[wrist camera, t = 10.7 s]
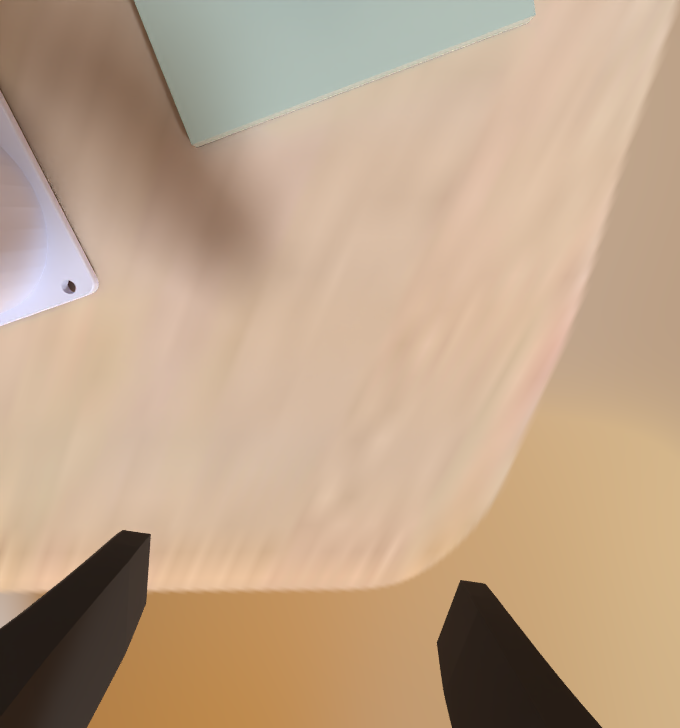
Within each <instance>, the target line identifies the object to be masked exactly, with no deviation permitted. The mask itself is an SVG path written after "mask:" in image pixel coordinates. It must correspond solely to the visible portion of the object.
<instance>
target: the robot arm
mask: <svg viewBox="0 0 680 728" xmlns="http://www.w3.org/2000/svg"><path fill="white" fill-rule="evenodd" d="M69 280H70V281H72V282H73V283H74V284H75V287H76V290H75V292H73V291H71V290H70V289H69V287H68V281H69ZM98 284H99V282H98V279H97V276H96V274H95V273H94V271H93V269H92V267H91V265H90V263H89V261H88V259H87V257H86V255H85V253H84V251H83V249H82V247H81V245H80V243H79V242H78V240H77V238H76V236H75V234H74V232H73V230H72V228H71V226H70V224H69V222H68V220H67V218H66V216H65V214H64V212H63V211H62V209H61V207H60V205H59V203H58V201H57V199H56V197H55V195H54V193H53V191H52V189H51V187H50V185H49V183H48V182H47V180H46V178H45V176H44V174H43V172H42V170H41V168H40V166H39V164H38V162H37V160H36V158H35V156H34V154H33V152H32V151H31V149H30V147H29V145H28V143H27V141H26V139H25V137H24V135H23V133H22V131H21V129H20V127H19V125H18V123H17V122H16V120H15V118H14V116H13V114H12V112H11V110H10V108H9V106H8V104H7V102H6V100H5V98H4V96H3V94H2V92H1V91H0V326H2V325H5V324H8V323H10V322H13V321H16V320H19V319H22V318H25V317H28V316H30V315H33V314H36V313H39V312H42V311H45V310H47V309H50V308H53V307H56V306H59V305H62V304H65V303H67V302H70V301H73V300H76V299H79V298H82V297H84V296H87V295H90V294H93V293H94V292H96V290H97V289H98ZM150 537H151V534H146V533H139V532H132V531H126V530H122V531H121V532H119V533H118V534H116V535H115V536H114V537H113V538H112V539H111V540H109V541H108V542H107V543H106V544H105V545H104V546H102V547H101V548H100V549H99V550H98V551H97V552H95V553H94V554H93V555H92V556H91V557H90V558H88V559H87V560H86V561H85V562H84V563H83V564H81V565H80V566H79V567H78V568H77V569H75V570H74V571H73V572H72V573H71V574H69V575H68V576H67V577H66V578H64V579H63V580H62V581H61V582H60V583H58V584H57V585H56V586H55V587H53V588H52V589H51V590H50V591H48V592H47V593H46V594H45V595H43V596H42V597H41V598H40V599H38V600H37V601H36V602H35V603H33V604H32V605H31V606H30V607H28V608H27V609H26V610H24V611H23V612H22V613H21V614H19V615H18V616H17V617H15V618H14V619H13V620H11V621H10V622H9V623H7V624H6V625H4V626H3V627H2V628H0V728H87V726H88V724H89V722H90V720H91V719H92V717H93V715H94V713H95V711H96V709H97V707H98V705H99V704H100V702H101V700H102V698H103V696H104V694H105V692H106V690H107V688H108V686H109V684H110V683H111V681H112V679H113V677H114V675H115V673H116V671H117V669H118V667H119V665H120V663H121V661H122V659H123V657H124V656H125V653H126V651H127V649H128V646H129V644H130V642H131V639H132V636H133V634H134V632H135V630H136V627H137V625H138V622H139V619H140V617H141V615H142V612H143V610H144V607H145V605H146V597H147V582H148V567H149V552H150ZM437 647H438V655H439V663H440V670H441V677H442V684H443V690H444V696H445V700H446V704H447V709H448V713H449V717H450V721H451V725H452V728H602V727H601V726H600V725H599V724H598V722H597V721H596V720H595V719H594V718H593V717H592V715H591V714H590V713H589V712H588V711H587V710H586V709H585V707H584V706H583V705H582V704H581V703H580V702H579V700H578V699H577V698H576V697H575V696H574V695H573V693H572V692H571V691H570V690H569V689H568V687H567V686H566V685H565V684H564V682H563V681H562V680H561V679H560V678H559V677H558V675H557V674H556V673H555V671H554V670H553V669H552V668H551V667H550V665H549V664H548V663H547V662H546V660H545V659H544V658H543V657H542V655H541V654H540V653H539V652H538V650H537V649H536V648H535V647H534V645H533V644H532V643H531V641H530V640H529V639H528V638H527V636H526V635H525V634H524V632H523V631H522V630H521V629H520V627H519V626H518V625H517V624H516V622H515V621H514V620H513V618H512V617H511V616H510V614H509V613H508V612H507V611H506V609H505V608H504V607H503V605H502V604H501V603H500V602H499V600H498V599H497V598H496V596H495V595H494V594H493V593H492V591H491V590H490V589H489V588H488V587H487V585H486V584H483V583H477V582H470V581H462V580H460V583H459V586H458V588H457V591H456V593H455V596H454V599H453V602H452V604H451V607H450V609H449V612H448V615H447V617H446V620H445V623H444V625H443V628H442V631H441V633H440V636H439V638H438V641H437Z"/></svg>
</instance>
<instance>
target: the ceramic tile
mask: <svg viewBox="0 0 680 728" xmlns="http://www.w3.org/2000/svg"><path fill="white" fill-rule="evenodd" d="M134 2H135V5H136V7H137V10H138V12H139V15H140V17H141V20H142V22H143V25H144V27H145V30H146V32H147V35H148V37H149V40H150V42H151V45H152V47H153V50H154V52H155V55H156V57H157V60H158V62H159V65H160V67H161V70H162V72H163V75H164V77H165V80H166V82H167V85H168V87H169V90H170V92H171V95H172V97H173V100H174V102H175V105H176V107H177V110H178V112H179V115H180V117H181V119H182V122H183V124H184V127H185V129H186V132H187V134H188V137H189V139H190V142H191V144H192V145H193V146H195V147H200V146H202V145H205V144H208V143H210V142H213V141H216V140H218V139H221V138H224V137H226V136H229V135H232V134H234V133H237V132H240V131H242V130H245V129H248V128H250V127H253V126H256V125H258V124H261V123H263V122H266V121H269V120H271V119H274V118H277V117H279V116H282V115H285V114H287V113H290V112H293V111H295V110H298V109H301V108H303V107H306V106H309V105H311V104H314V103H317V102H319V101H322V100H325V99H327V98H330V97H333V96H335V95H338V94H340V93H343V92H346V91H348V90H351V89H354V88H356V87H359V86H362V85H364V84H367V83H370V82H372V81H375V80H378V79H380V78H383V77H386V76H388V75H391V74H394V73H396V72H399V71H402V70H404V69H407V68H410V67H412V66H415V65H418V64H420V63H423V62H425V61H428V60H431V59H433V58H436V57H439V56H441V55H444V54H447V53H449V52H452V51H455V50H457V49H460V48H463V47H465V46H468V45H471V44H473V43H476V42H479V41H481V40H484V39H487V38H489V37H492V36H495V35H497V34H500V33H502V32H505V31H508V30H510V29H513V28H516V27H518V26H521V25H524V24H526V23H528V22H529V21H530V20H531V19H532V18H533V17H534V16H535V15H536V14H535V7H534V0H134Z"/></svg>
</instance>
